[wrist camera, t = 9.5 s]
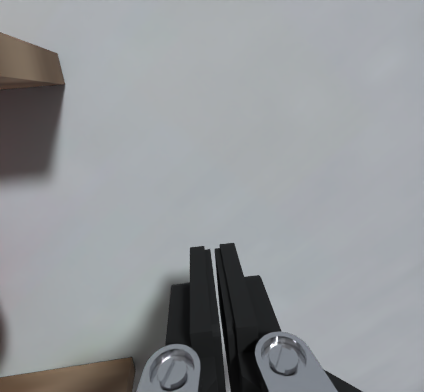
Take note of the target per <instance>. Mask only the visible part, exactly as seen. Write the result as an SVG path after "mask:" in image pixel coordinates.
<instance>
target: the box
mask: <svg viewBox="0 0 424 392" xmlns="http://www.w3.org/2000/svg"><path fill="white" fill-rule="evenodd" d="M63 84H65V82H64V78H63V74H62V70H61V66H60V62H59V58H58V54H57V53H55V52H52V51H49V50H47V49H44V48H41V47H38V46H36V45H33V44H30V43H28V42H25V41H22V40H20V39H17V38H14V37H11V36H9V35H6V34H3V33H1V32H0V90H2V89H14V88H26V87H39V86H51V85H63ZM134 376H135V368H134V364H133V359H132V357H130V358H124V359H117V360H111V361H104V362H98V363H91V364H85V365H79V366H72V367H66V368H59V369H53V370H46V371H40V372H34V373H27V374H21V375H14V376H8V377H1V378H0V392H132V388H133V382H134Z"/></svg>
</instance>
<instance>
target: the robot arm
mask: <svg viewBox="0 0 424 392" xmlns="http://www.w3.org/2000/svg"><path fill="white" fill-rule="evenodd" d="M215 260H216V271H217V283H218V294H219V306H220V314H221V322H222V329H223V337H224V344H225V351H226V359H227V366H228V373H229V381H230V388H231V392H362V391H360V390H359V389H357V388H355V387H353V386H352V385H350V384H348V383H346V382H345V381H343V380H341V379H339V378H338V377H336V376H334V375H332V374H331V373H329V372H327V371H325V370H324V369H323V368H322V367H321V365H320V363H319V362H318V360H317V359H316V357H315V356H314V354H313V353H312V351H311V350H310V348H309V347H308V346H307V344H306V343H305V342H304V341H303V340H301V339H300V338H298V337H297V336H295V335H293V334H290V333H287V332H281V329H280V326H279V324H278V321H277V319H276V316H275V313H274V311H273V308H272V305H271V303H270V300H269V298H268V295H267V292H266V290H265V287H264V285H263V282H262V279H261V277H260V276H259V275H257V276H248V277H244V275H243V272H242V268H241V265H240V262H239V258H238V255H237V251H236V248H235V244H234V243H228V244H220V248H217V249H215ZM136 392H226V388H225V376H224V365H223V354H222V343H221V332H220V323H219V315H218V307H217V299H216V291H215V284H214V276H213V268H212V260H211V252H210V249H208V250H205V249H204V246H200V247H191V248H190V283H186V284H177V285H172V286H171V295H170V305H169V315H168V325H167V335H166V346H165V347H163V348H161V349H159V350H158V351H156V352H155V353H154V354H153V355H152V356H151V357H150V358H149V359H148V361H147V363H146V365H145V367H144V370H143V373H142V376H141V379H140V382H139V385H138V388H137V391H136Z"/></svg>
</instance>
